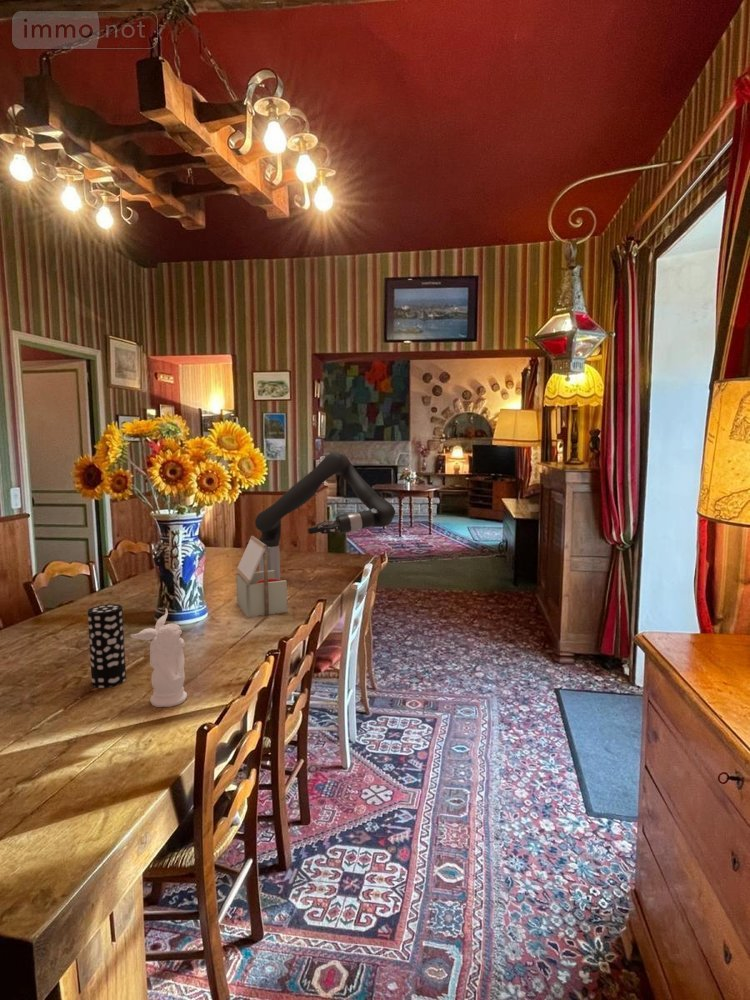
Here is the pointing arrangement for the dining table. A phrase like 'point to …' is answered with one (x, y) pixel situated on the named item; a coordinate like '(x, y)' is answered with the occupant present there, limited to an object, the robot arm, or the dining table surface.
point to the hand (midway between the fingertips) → (308, 531)
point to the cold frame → (261, 595)
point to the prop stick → (266, 584)
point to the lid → (251, 559)
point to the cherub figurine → (166, 662)
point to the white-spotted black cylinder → (106, 645)
